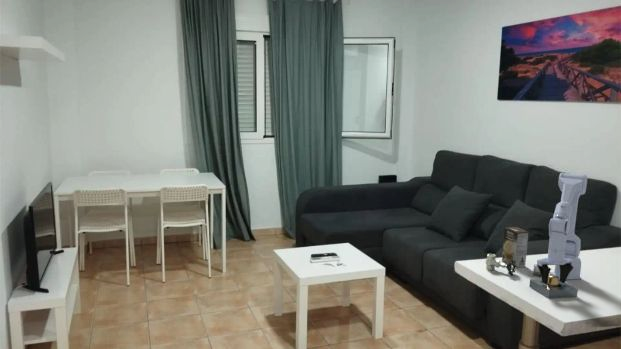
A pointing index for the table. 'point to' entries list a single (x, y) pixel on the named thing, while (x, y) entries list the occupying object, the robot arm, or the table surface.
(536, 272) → the sleeve
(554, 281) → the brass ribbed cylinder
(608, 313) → the table surface
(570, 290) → the plate
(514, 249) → the coffee box
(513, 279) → the table surface
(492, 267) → the valve
